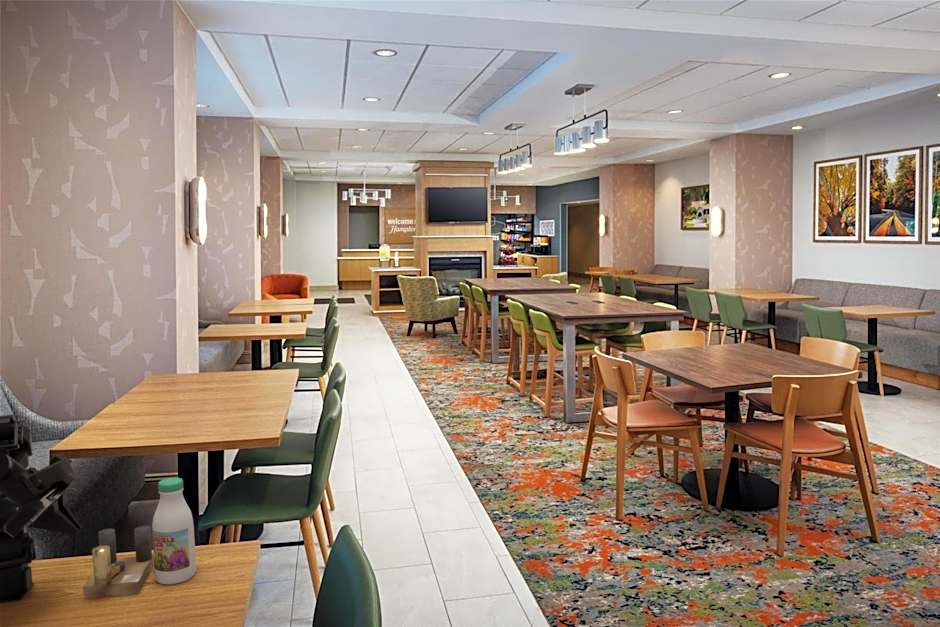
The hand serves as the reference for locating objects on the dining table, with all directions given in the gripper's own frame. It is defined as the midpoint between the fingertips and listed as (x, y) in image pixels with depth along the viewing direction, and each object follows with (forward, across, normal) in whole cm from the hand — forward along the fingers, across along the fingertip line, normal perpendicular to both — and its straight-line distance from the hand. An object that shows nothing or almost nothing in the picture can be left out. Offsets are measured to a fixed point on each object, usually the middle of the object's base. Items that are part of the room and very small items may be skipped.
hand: (77, 531), depth 133 cm
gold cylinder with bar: (+10, +1, +4) cm, 11 cm away
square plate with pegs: (+13, +5, +5) cm, 15 cm away
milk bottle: (+20, +5, -2) cm, 21 cm away
